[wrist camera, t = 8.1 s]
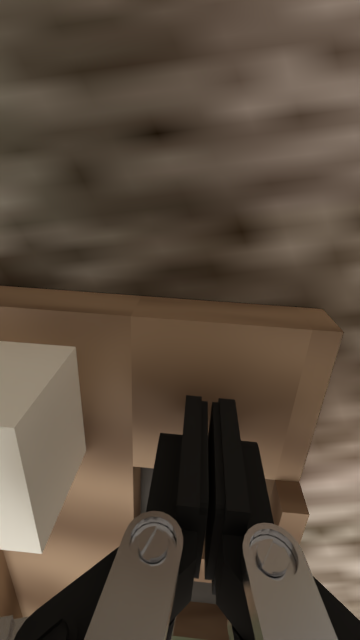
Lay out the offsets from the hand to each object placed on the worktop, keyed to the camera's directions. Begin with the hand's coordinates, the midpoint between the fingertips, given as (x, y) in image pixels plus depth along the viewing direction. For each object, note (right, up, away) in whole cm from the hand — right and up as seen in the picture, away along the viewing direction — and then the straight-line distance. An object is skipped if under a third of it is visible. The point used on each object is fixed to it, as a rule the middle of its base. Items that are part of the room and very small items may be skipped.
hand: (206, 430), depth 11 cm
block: (-7, +1, +1) cm, 7 cm away
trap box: (-4, -5, +6) cm, 9 cm away
